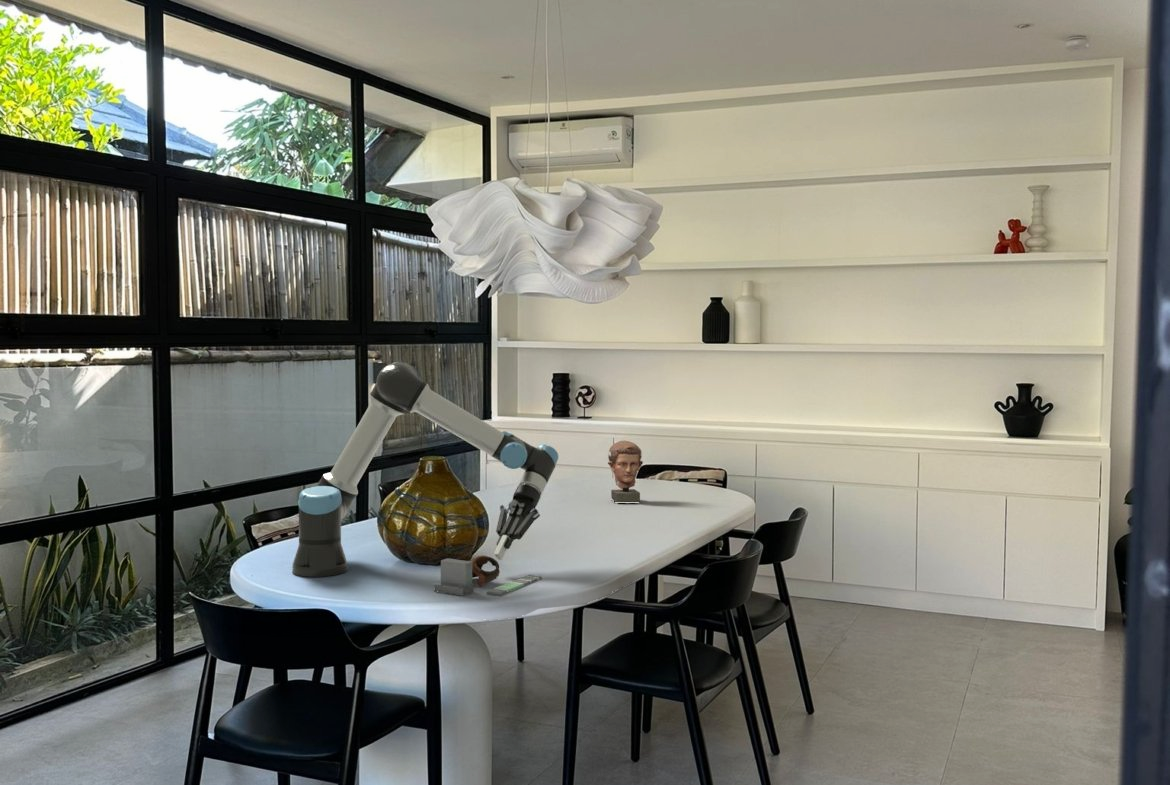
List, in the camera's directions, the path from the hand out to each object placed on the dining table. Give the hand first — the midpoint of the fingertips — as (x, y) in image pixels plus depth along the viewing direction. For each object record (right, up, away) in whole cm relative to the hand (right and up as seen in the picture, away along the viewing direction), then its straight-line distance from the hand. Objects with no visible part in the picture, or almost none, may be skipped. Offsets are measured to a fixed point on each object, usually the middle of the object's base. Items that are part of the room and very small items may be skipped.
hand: (497, 556), depth 288 cm
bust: (+41, +1, +130) cm, 136 cm away
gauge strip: (+6, -6, -11) cm, 14 cm away
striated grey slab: (-9, -6, -18) cm, 21 cm away
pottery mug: (-5, -6, -8) cm, 11 cm away
